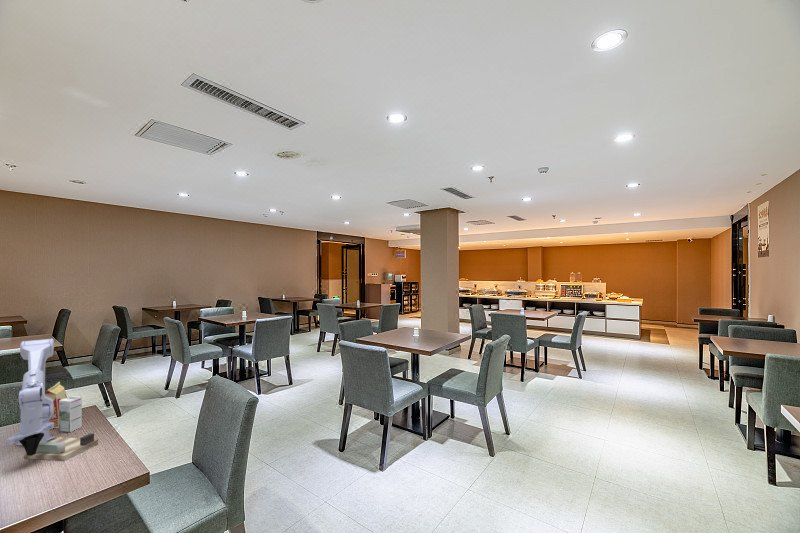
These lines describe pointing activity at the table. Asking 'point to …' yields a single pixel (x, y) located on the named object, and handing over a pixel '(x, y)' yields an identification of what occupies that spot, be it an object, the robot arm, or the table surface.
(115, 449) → the table surface
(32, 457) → the stool seat
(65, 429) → the syrup box
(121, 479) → the table surface
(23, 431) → the robot arm
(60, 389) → the milk carton
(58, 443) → the stool leg
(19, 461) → the table surface
